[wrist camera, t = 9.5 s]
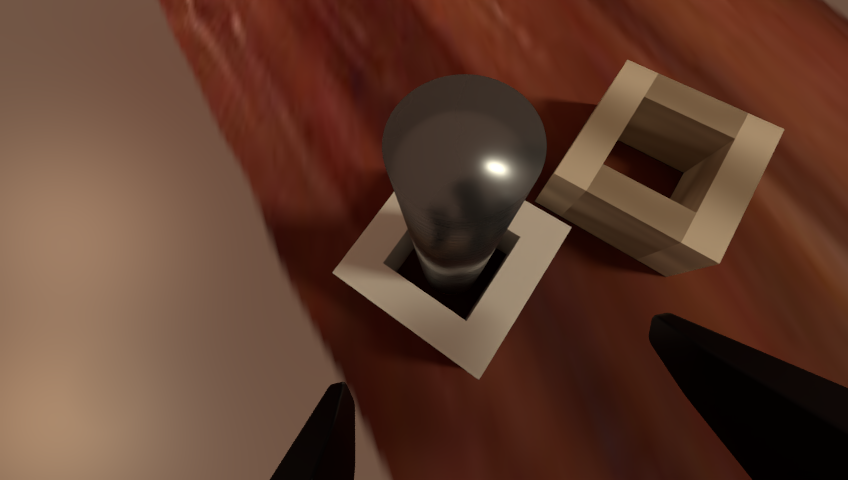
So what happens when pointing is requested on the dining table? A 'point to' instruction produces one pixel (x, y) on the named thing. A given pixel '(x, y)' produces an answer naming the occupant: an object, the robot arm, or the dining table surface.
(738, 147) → the beige square frame block
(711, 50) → the dining table surface
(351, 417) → the robot arm
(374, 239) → the socket block
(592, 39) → the dining table surface
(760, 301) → the dining table surface
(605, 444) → the dining table surface
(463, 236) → the grey metal rod
